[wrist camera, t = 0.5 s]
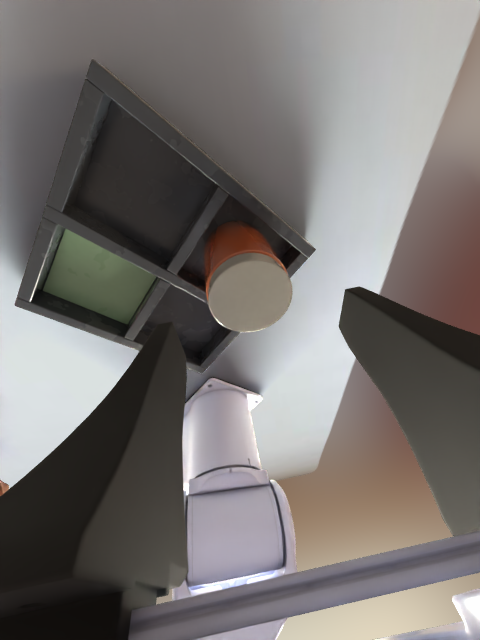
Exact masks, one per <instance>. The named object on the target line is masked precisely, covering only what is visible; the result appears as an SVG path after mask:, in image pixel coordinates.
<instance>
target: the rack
mask: <svg viewBox="0 0 480 640" xmlns="http://www.w3.org/2000/svg"><path fill="white" fill-rule="evenodd" d="M86 78H87V79H85V81H84V85H83V88H82V91H81V94H80V97H79V101H78V104H77V107H76V110H75V113H74V116H73V120H72V123H71V126H70V129H69V132H68V136H67V139H66V142H65V145H64V148H63V151H62V155H61V158H60V161H59V164H58V167H57V171H56V174H55V177H54V180H53V183H52V186H51V190H50V193H49V196H48V199H47V202H46V206H45V209H44V212H43V217H42V219H41V222H40V225H39V228H38V232H37V235H36V238H35V241H34V244H33V248H32V251H31V254H30V257H29V260H28V263H27V267H26V270H25V273H24V276H23V279H22V283H21V286H20V289H19V292H18V295H17V298H16V302H15V306H17V307H20V308H23V309H25V310H28V311H31V312H34V313H36V314H39V315H42V316H45V317H47V318H50V319H53V320H56V321H58V322H61V323H64V324H67V325H70V326H72V327H75V328H78V329H81V330H83V331H86V332H89V333H92V334H94V335H97V336H100V337H103V338H105V339H108V340H111V341H114V342H116V343H119V344H122V345H125V346H128V347H130V348H133V349H136V350H139V351H140V350H141V349H142V347H143V346H144V344H145V343H146V341H147V340H148V338H149V336H150V335H151V333H152V332H153V330H154V329H155V327H156V326H157V324H162V323H168V322H173V324H174V327H175V329H176V332H177V335H178V337H179V340H180V342H181V345H182V348H183V350H184V353H185V355H186V368H188V369H191V370H194V371H197V372H199V373H203V372H204V371H205V370H206V369H207V368H208V367H209V366H210V365H211V364H212V363H213V361H214V360H215V359H216V358H217V357H218V356H219V355H220V354H221V353H222V352H223V351H224V349H225V348H226V347H227V346H228V345H229V344H230V343H231V342H232V341H233V340H234V339H235V338H236V336H237V335H238V334H239V333H240V332H238V331H234V330H230V329H228V328H226V327H224V326H222V325H221V324H220V323H219V322H218V321H217V320H216V319H215V318H214V317H213V315H212V313H211V311H210V308H209V303H208V300H207V296H206V287H205V273H204V259H203V250H204V245H205V242H206V240H207V238H208V236H209V235H210V234H211V232H212V231H213V230H214V229H216V228H217V227H218V226H220V225H222V224H224V223H226V222H230V221H244V222H248V223H250V224H253V225H254V226H256V227H257V228H258V229H259V230H260V231H261V232H262V233H263V235H264V236H265V238H266V239H267V241H268V242H269V244H270V245H271V247H272V248H273V250H274V251H275V253H276V254H277V256H278V257H279V259H280V260H281V262H282V263H283V265H284V267H285V268H286V271H287V273H288V276H289V278H291V277H292V275H293V274H294V273H295V272H296V271H297V270H298V269H299V268H300V267H301V266H302V265H303V263H304V262H305V261H306V260H307V259H308V258H309V257H310V256H311V255H312V254H313V253H314V251H315V250H316V249H315V248H314V247H313V246H312V245H311V244H310V243H309V242H308V241H307V240H306V239H305V238H304V237H302V236H301V235H300V234H299V233H298V232H297V231H296V230H294V229H293V228H292V227H291V226H290V225H289V224H287V223H286V222H285V221H284V220H283V219H282V218H280V217H279V216H278V215H277V214H276V213H275V212H273V211H272V210H271V209H270V208H269V207H268V206H266V205H265V204H264V203H263V202H262V201H261V200H259V199H258V198H257V197H256V196H255V195H254V194H252V193H251V192H250V191H249V190H248V189H247V188H245V187H244V186H243V185H242V184H241V183H240V182H238V181H237V180H236V179H235V178H234V177H233V176H231V175H230V174H229V173H228V172H227V171H226V170H224V169H223V168H222V167H221V166H220V165H219V164H217V163H216V162H215V161H214V160H213V159H212V158H210V157H209V156H208V155H207V154H206V153H205V152H204V151H202V150H201V149H200V148H199V147H198V146H197V145H195V144H194V143H193V142H192V141H191V140H190V139H188V138H187V137H186V136H185V135H184V134H183V133H181V132H180V131H179V130H178V129H177V128H176V127H174V126H173V125H172V124H171V123H170V122H169V121H167V120H166V119H165V118H164V117H163V116H162V115H160V114H159V113H158V112H157V111H156V110H155V109H153V108H152V107H151V106H150V105H149V104H148V103H146V102H145V101H144V100H143V99H142V98H141V97H139V96H138V95H137V94H136V93H135V92H134V91H132V90H131V89H130V88H129V87H128V86H127V85H125V84H124V83H123V82H122V81H121V80H120V79H118V78H117V77H116V76H115V75H114V74H113V73H112V72H110V71H109V70H108V69H107V68H105V67H104V66H102V65H101V64H100V63H98V62H97V61H95V60H94V59H92V60H91V63H90V66H89V69H88V72H87V76H86Z"/></svg>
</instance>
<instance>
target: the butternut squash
mask: <svg viewBox="0 0 480 640" xmlns="http://www.w3.org/2000/svg"><path fill="white" fill-rule="evenodd" d="M8 490H9V485H8V484H6V483H4V482H2V481H1V480H0V496H1V495H3V494H4V493H5V492H6V491H8Z"/></svg>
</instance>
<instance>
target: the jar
mask: <svg viewBox="0 0 480 640" xmlns="http://www.w3.org/2000/svg"><path fill="white" fill-rule="evenodd" d="M203 259H204V273H205V287H206V296H207V300H208V303H209V308H210V311H211V313H212V315H213V317H214V318H215V319H216V320H217V321H218V322H219V323H220V324H221V325H222V326H224V327H226V328H228V329H230V330H234V331H238V332H253V331H258V330H261V329H264V328H267V327H269V326H270V325H272V324H274V323H275V322H276V321H278V320H279V319H280V318H281V317H282V316H283V315H284V314H285V312H286V311H287V309H288V307H289V305H290V303H291V299H292V292H293V291H292V284H291V281H290V278H289V276H288V273H287V271H286V268H285V267H284V265H283V263H282V262H281V260H280V259H279V257H278V256H277V254H276V253H275V251H274V250H273V248H272V247H271V245H270V244H269V242H268V241H267V239H266V238H265V236H264V235H263V233H262V232H261V231H260V230H259V229H258V228H257V227H256V226H254V225H253V224H250V223H248V222H244V221H230V222H226V223H224V224H222V225H220V226H218V227H217V228H216V229H214V230H213V231H212V232H211V234H210V235H209V236H208V238H207V240H206V242H205V245H204V250H203Z"/></svg>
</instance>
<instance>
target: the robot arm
mask: <svg viewBox="0 0 480 640" xmlns="http://www.w3.org/2000/svg"><path fill="white" fill-rule="evenodd" d="M339 328H340V330H341V333H342V335H343V337H344V339H345V341H346V342H347V344H348V346H349V348H350V349H351V351H352V352H353V354H354V355H355V357H356V358H357V359H358V361H359V362H360V364H361V365H362V367H363V368H364V369H365V371H366V372H367V374H368V375H369V377H370V378H371V379H372V381H373V382H374V384H375V385H376V386H377V388H378V389H379V391H380V392H381V394H382V395H383V397H384V399H385V400H386V402H387V404H388V406H389V407H390V409H391V411H392V413H393V415H394V416H395V418H396V420H397V422H398V424H399V426H400V428H401V430H402V432H403V433H404V435H405V437H406V439H407V441H408V443H409V445H410V447H411V449H412V451H413V453H414V455H415V457H416V459H417V462H418V463H419V466H420V468H421V470H422V472H423V474H424V476H425V479H426V481H427V483H428V485H429V488H430V490H431V492H432V494H433V497H434V499H435V501H436V504H437V506H438V508H439V511H440V513H441V516H442V518H443V520H444V522H445V524H446V525H447V527H448V528H449V530H450V532H451V533H452V535H453V536H454V537H450V538H445V539H442V540H437V541H433V542H428V543H424V544H419V545H415V546H411V547H406V548H402V549H397V550H393V551H389V552H384V553H380V554H376V555H371V556H367V557H362V558H358V559H354V560H349V561H345V562H340V563H336V564H332V565H327V566H323V567H319V568H314V569H310V570H306V571H301V572H297V565H296V556H295V552H296V542H295V531H294V524H293V519H292V514H291V511H290V507H289V503H288V501H287V497H286V495H285V493H284V491H283V489H282V488H281V487H280V486H279V485H278V483H277V482H276V481H275V480H269V478H268V473H267V470H262V467H261V462H260V457H259V452H258V447H257V442H256V437H255V432H254V427H253V422H252V417H251V412H250V410H251V409H252V408H253V407H255V406H256V405H257V404H258V403H259V402H260V401H262V399H263V397H262V395H259V394H257V393H254V392H251V391H248V390H246V389H243V388H240V387H237V386H235V385H232V384H229V383H226V382H223V381H221V380H218V379H215V378H210V379H209V380H208V381H207V382H206V383H205V384H204V385H203V386H202V387H201V388H200V389H199V390H198V391H197V392H196V393H195V394H194V395H193V396H192V398H191V399H190V400H189V401H188V402H187V403H186V404H185V396H186V383H187V369H186V355H185V353H184V350H183V348H182V345H181V342H180V340H179V337H178V335H177V332H176V329H175V327H174V324H173V322H168V323H162V324H157V326H156V327H155V329H154V330H153V332H152V333H151V335H150V336H149V338H148V340H147V341H146V343H145V344H144V346H143V347H142V349H141V350H140V352H139V353H138V355H137V356H136V358H135V359H134V361H133V362H132V364H131V365H130V366H129V368H128V369H127V371H126V372H125V373H124V375H123V376H122V377H121V378H120V380H119V381H118V382H117V384H116V385H115V386H114V388H113V389H112V390H111V391H110V393H109V394H108V395H107V396H106V397H105V398H104V400H103V401H102V402H101V403H100V404H99V405H98V406H97V407H96V409H95V410H94V411H93V412H92V413H91V414H90V415H89V416H88V417H87V418H86V419H85V420H84V421H83V422H82V423H81V424H80V425H79V426H78V427H77V428H76V429H75V430H74V431H73V432H72V433H71V434H70V435H69V436H68V437H67V438H66V439H65V440H64V441H63V442H62V443H61V444H60V445H59V446H58V447H57V448H56V449H55V450H54V451H53V452H51V453H50V454H49V455H48V456H47V457H46V458H45V459H44V460H43V461H42V462H40V463H39V464H38V465H37V466H36V467H35V468H34V469H32V470H31V471H30V472H29V473H28V474H27V475H26V476H24V477H23V478H22V479H21V480H20V481H18V482H17V483H16V484H15V485H14V486H13V487H11V488H10V489H9V490H8V491H6V492H5V493H4V494H3V495H1V496H0V640H276V639H277V636H278V634H279V633H280V631H281V629H282V627H283V625H284V623H285V621H286V620H287V618H288V617H292V616H296V615H301V614H305V613H309V612H313V611H318V610H322V609H326V608H330V607H334V606H339V605H343V604H347V603H352V602H356V601H360V600H364V599H369V598H372V597H377V596H381V595H386V594H390V593H394V592H399V591H403V590H407V589H411V588H416V587H420V586H424V585H428V584H433V583H437V582H441V581H445V580H449V579H453V578H458V577H462V576H466V575H471V574H475V573H479V572H480V335H477V334H474V333H471V332H468V331H465V330H462V329H459V328H456V327H453V326H451V325H448V324H445V323H443V322H440V321H438V320H435V319H433V318H430V317H428V316H425V315H423V314H421V313H418V312H416V311H414V310H411V309H409V308H407V307H405V306H402V305H400V304H398V303H396V302H394V301H391V300H389V299H387V298H385V297H383V296H380V295H378V294H376V293H374V292H372V291H369V290H367V289H365V288H362V287H355V288H350V289H345V294H344V299H343V305H342V311H341V316H340V322H339ZM258 573H259V574H258ZM253 574H257V575H253ZM248 575H253V576H248ZM243 576H248V577H243ZM238 577H243V578H238ZM233 578H238V579H233ZM228 579H233V580H228ZM223 580H228V581H223ZM217 581H223V582H218V583H213V582H217ZM207 583H213V584H207ZM169 589H173V590H172V601H170V602H165V603H161V604H157V605H156V598H157V597H162V596H166V595H168V594H169ZM452 601H453V602H454V604H455V606H456V608H457V610H458V611H459V613H460V615H461V617H462V619H463V621H462V622H457V623H452V624H447V625H442V626H437V627H432V628H427V629H423V630H418V631H413V632H408V633H403V634H398V635H393V636H388V637H383V638H379V639H374V640H480V588H479V589H475V590H471V591H468V592H465V593H461V594H457V595H454V596H453V599H452Z"/></svg>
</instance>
